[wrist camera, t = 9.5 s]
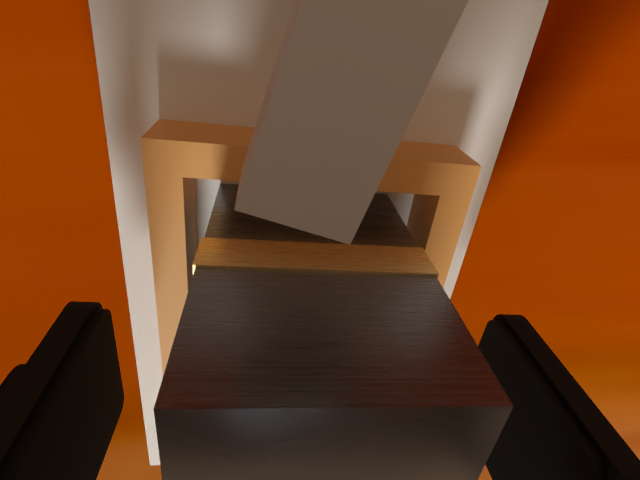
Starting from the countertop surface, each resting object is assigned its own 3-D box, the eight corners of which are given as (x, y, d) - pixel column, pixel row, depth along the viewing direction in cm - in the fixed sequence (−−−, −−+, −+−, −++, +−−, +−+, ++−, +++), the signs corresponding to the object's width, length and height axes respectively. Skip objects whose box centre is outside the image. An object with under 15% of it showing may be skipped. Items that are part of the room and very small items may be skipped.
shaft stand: (383, 458, 20) (430, 654, 14) (160, 462, 18) (105, 683, 12) (564, -140, 9) (1074, -390, 3) (81, -236, 8) (-501, -964, 2)
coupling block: (219, 354, 14) (178, 629, 8) (218, 181, 11) (148, 406, 5) (355, 355, 14) (415, 610, 8) (388, 192, 11) (518, 403, 5)
